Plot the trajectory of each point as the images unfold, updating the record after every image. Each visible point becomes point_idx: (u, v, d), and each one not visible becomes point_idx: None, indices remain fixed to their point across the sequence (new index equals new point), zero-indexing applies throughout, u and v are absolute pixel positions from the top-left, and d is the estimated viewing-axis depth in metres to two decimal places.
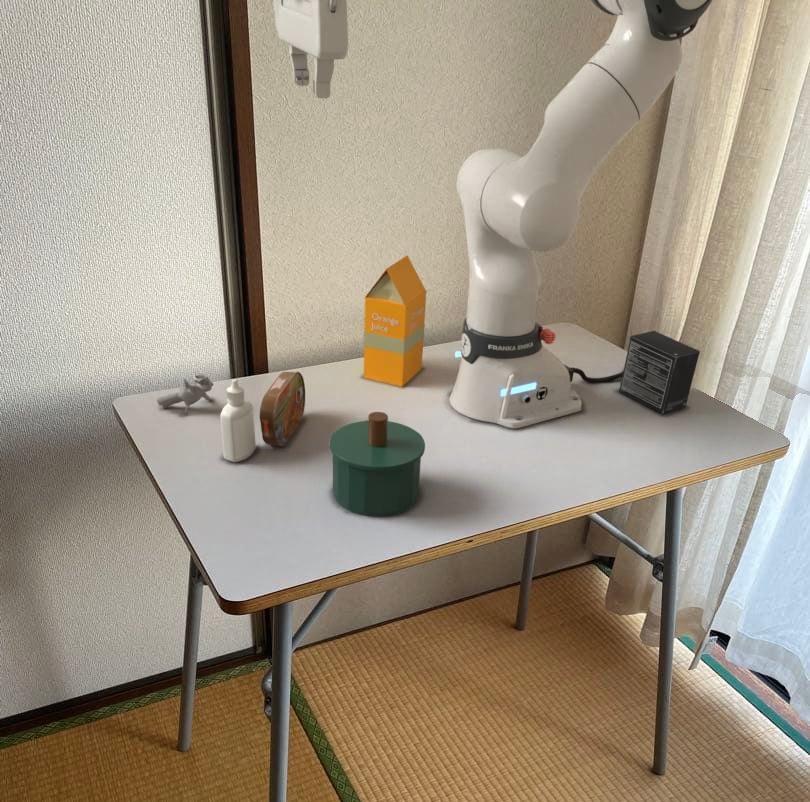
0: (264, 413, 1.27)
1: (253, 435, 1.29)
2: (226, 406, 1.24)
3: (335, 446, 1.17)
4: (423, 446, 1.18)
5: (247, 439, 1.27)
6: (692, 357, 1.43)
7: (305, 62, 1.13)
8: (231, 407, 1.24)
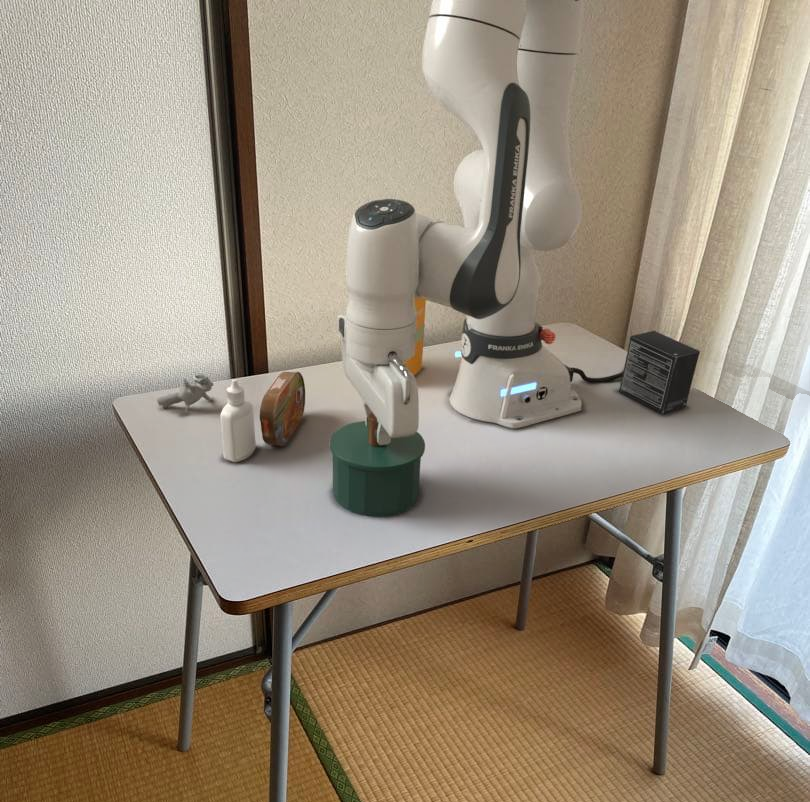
0: (264, 413, 1.27)
1: (253, 435, 1.29)
2: (226, 406, 1.24)
3: (335, 446, 1.17)
4: (423, 446, 1.18)
5: (247, 439, 1.27)
6: (692, 357, 1.43)
7: None
8: (231, 407, 1.24)
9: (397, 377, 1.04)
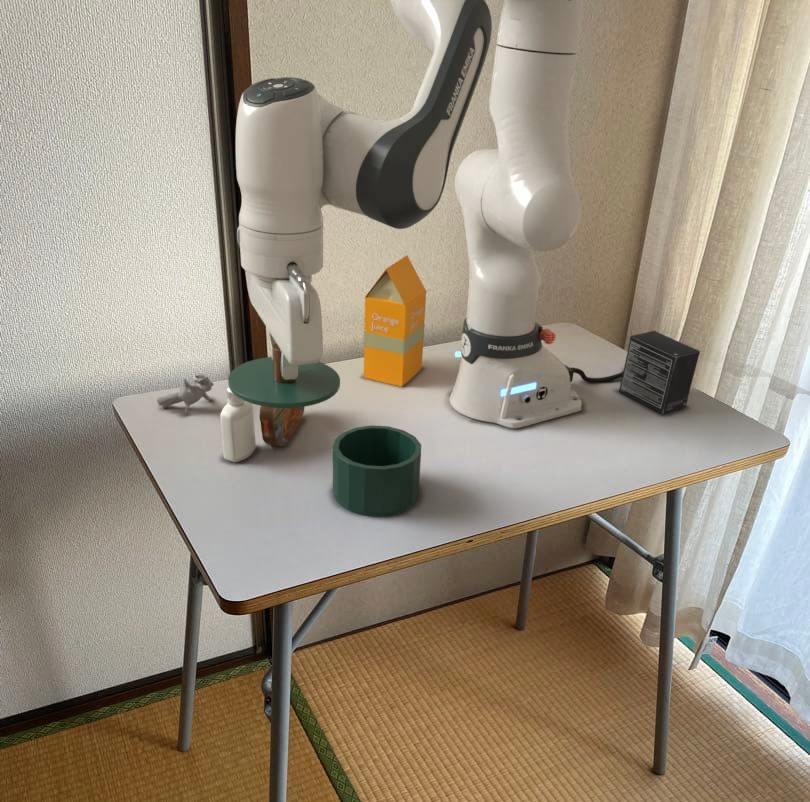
0: (264, 413, 1.27)
1: (253, 435, 1.29)
2: (226, 406, 1.24)
3: (234, 381, 1.00)
4: (337, 383, 1.01)
5: (247, 439, 1.27)
6: (692, 357, 1.43)
7: None
8: (231, 407, 1.24)
9: (296, 291, 0.88)
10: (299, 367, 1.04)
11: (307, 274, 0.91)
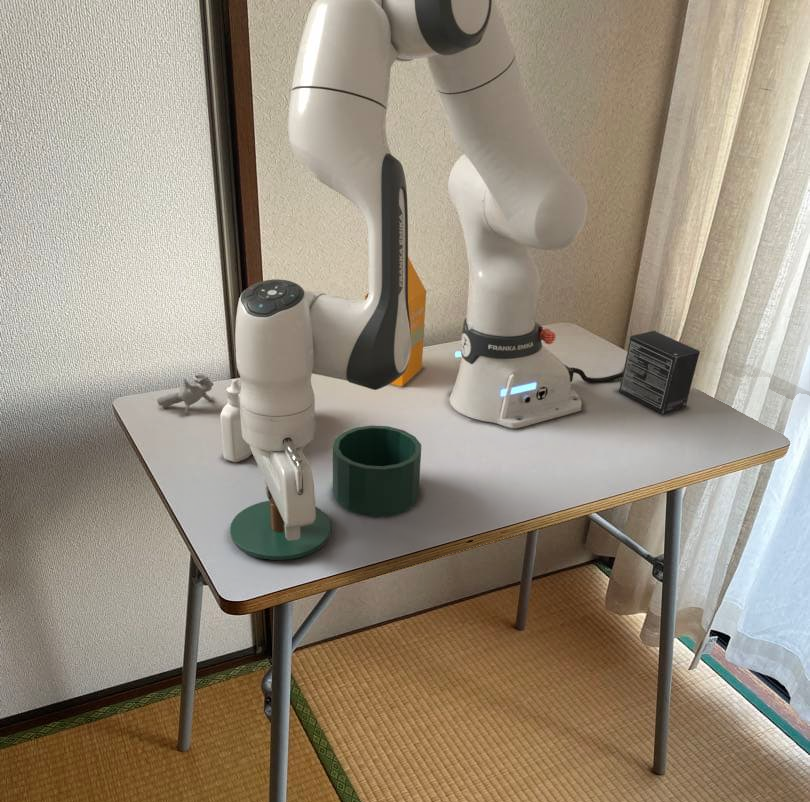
0: None
1: None
2: (226, 406, 1.24)
3: (235, 531, 1.11)
4: (328, 530, 1.12)
5: None
6: (692, 357, 1.43)
7: None
8: (231, 407, 1.24)
9: (290, 466, 0.99)
10: None
11: (301, 445, 1.02)
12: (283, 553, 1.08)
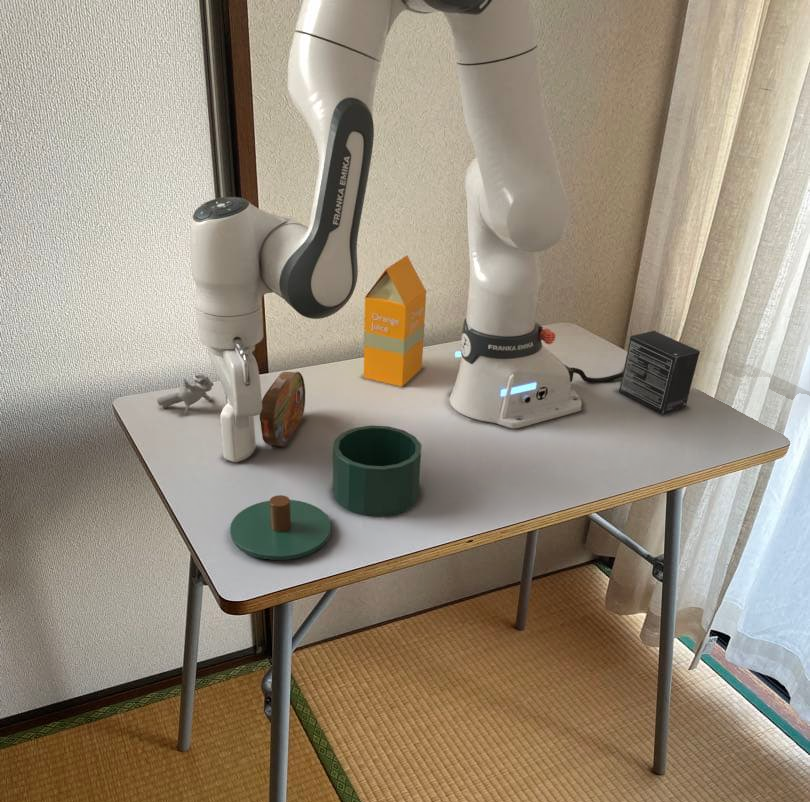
0: (264, 413, 1.27)
1: (253, 435, 1.29)
2: (226, 406, 1.24)
3: (235, 531, 1.11)
4: (328, 530, 1.12)
5: (247, 439, 1.27)
6: (692, 357, 1.43)
7: None
8: (231, 407, 1.24)
9: (239, 360, 1.13)
10: (294, 512, 1.16)
11: (249, 345, 1.16)
12: (283, 553, 1.08)
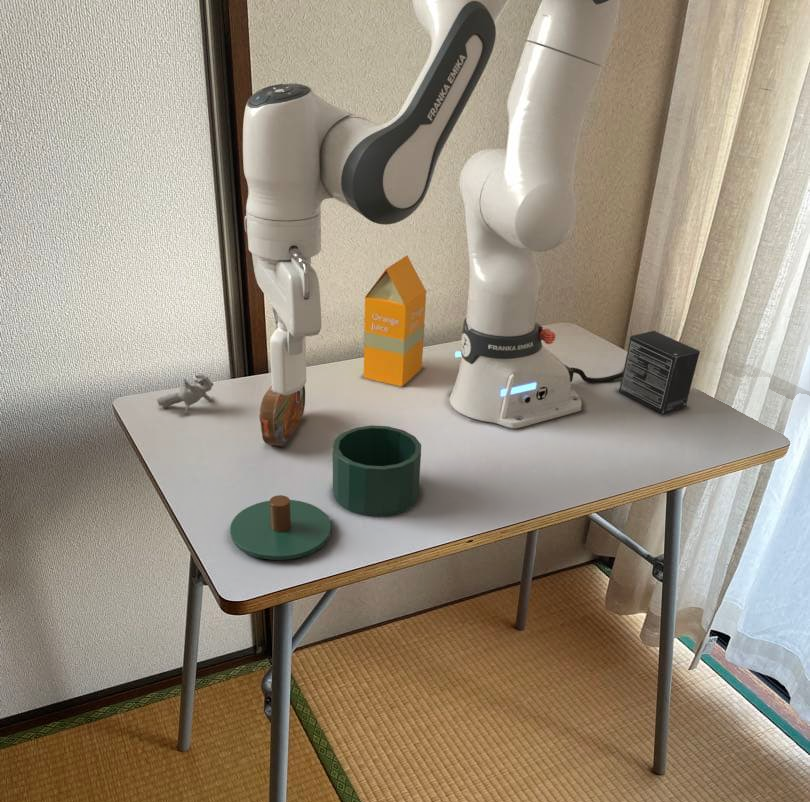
0: (264, 413, 1.27)
1: (304, 366, 1.16)
2: (276, 331, 1.11)
3: (235, 531, 1.11)
4: (328, 530, 1.12)
5: (298, 370, 1.14)
6: (692, 357, 1.43)
7: None
8: (283, 331, 1.11)
9: (297, 271, 1.00)
10: (294, 512, 1.16)
11: (307, 256, 1.03)
12: (283, 553, 1.08)
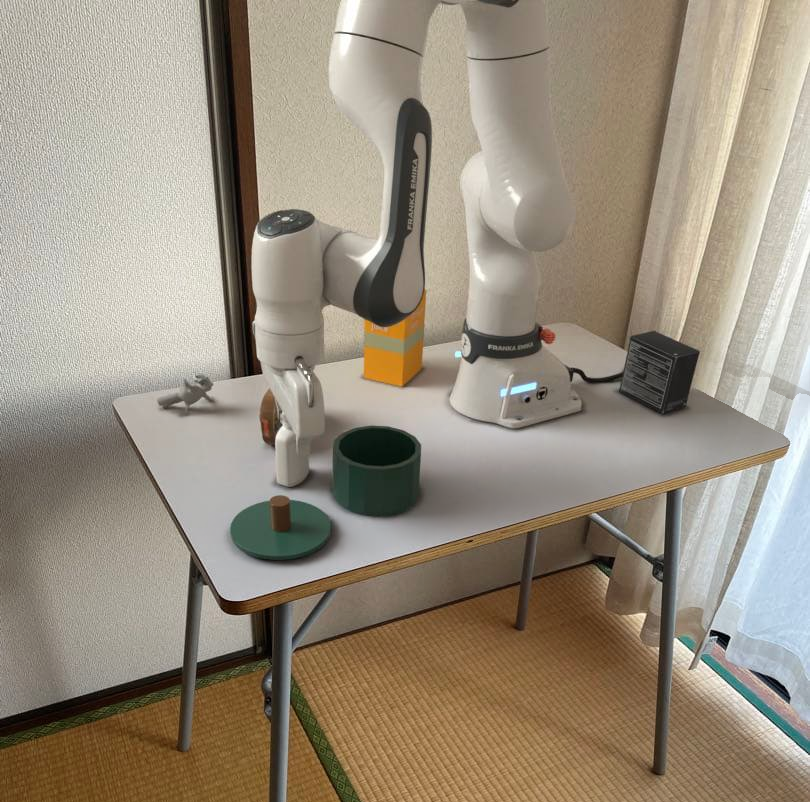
0: (264, 413, 1.27)
1: (307, 459, 1.24)
2: (281, 429, 1.20)
3: (235, 531, 1.11)
4: (328, 530, 1.12)
5: (302, 463, 1.22)
6: (692, 357, 1.43)
7: None
8: (287, 430, 1.19)
9: (302, 381, 1.08)
10: (294, 512, 1.16)
11: (311, 364, 1.11)
12: (283, 553, 1.08)
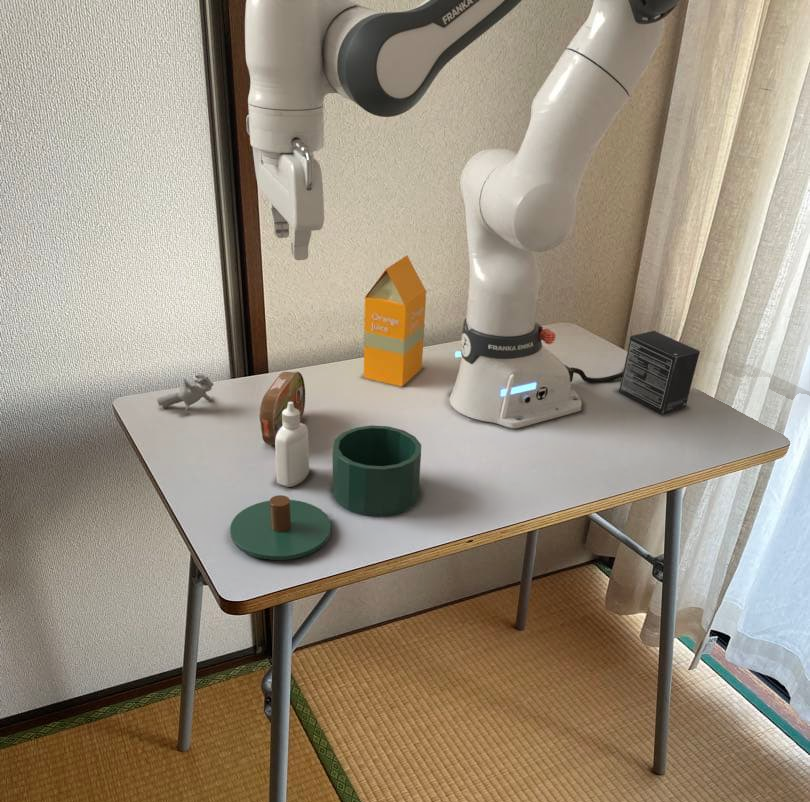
0: (264, 413, 1.27)
1: (307, 459, 1.24)
2: (281, 429, 1.20)
3: (235, 531, 1.11)
4: (328, 530, 1.12)
5: (302, 463, 1.22)
6: (692, 357, 1.43)
7: None
8: (287, 430, 1.19)
9: (299, 161, 0.99)
10: (294, 512, 1.16)
11: (309, 150, 1.02)
12: (283, 553, 1.08)
